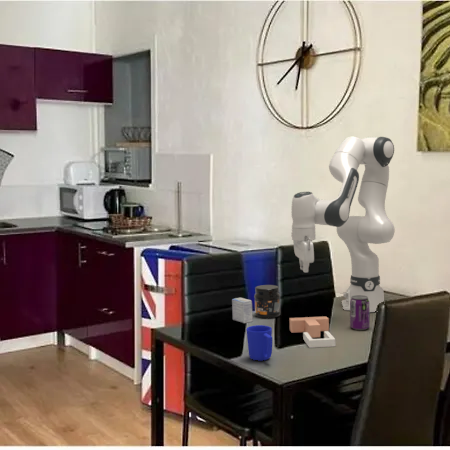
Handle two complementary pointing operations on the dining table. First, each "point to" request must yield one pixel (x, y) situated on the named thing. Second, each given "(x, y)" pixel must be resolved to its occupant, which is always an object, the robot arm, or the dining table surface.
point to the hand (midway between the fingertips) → (304, 271)
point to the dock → (319, 340)
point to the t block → (309, 325)
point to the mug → (259, 342)
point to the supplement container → (267, 301)
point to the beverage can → (359, 312)
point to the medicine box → (242, 310)
